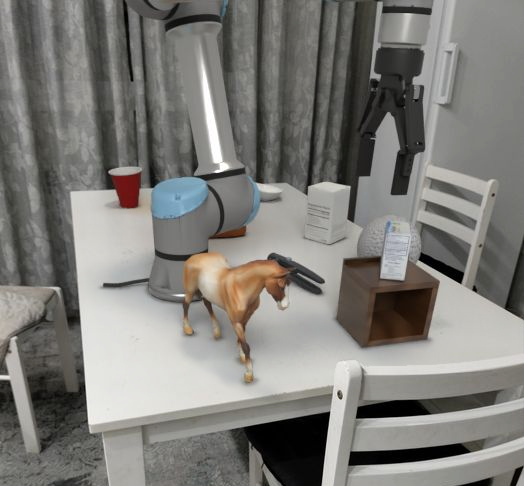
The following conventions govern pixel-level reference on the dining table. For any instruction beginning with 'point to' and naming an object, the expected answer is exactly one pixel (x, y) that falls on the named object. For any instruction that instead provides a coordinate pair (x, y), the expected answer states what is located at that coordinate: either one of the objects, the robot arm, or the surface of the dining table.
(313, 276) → the can opener
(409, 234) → the medicine box
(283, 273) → the horse figurine
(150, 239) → the dining table surface
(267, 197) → the spoon rest
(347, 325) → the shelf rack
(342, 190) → the white product box
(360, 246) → the decorative ball
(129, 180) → the plastic cup
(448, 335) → the dining table surface
